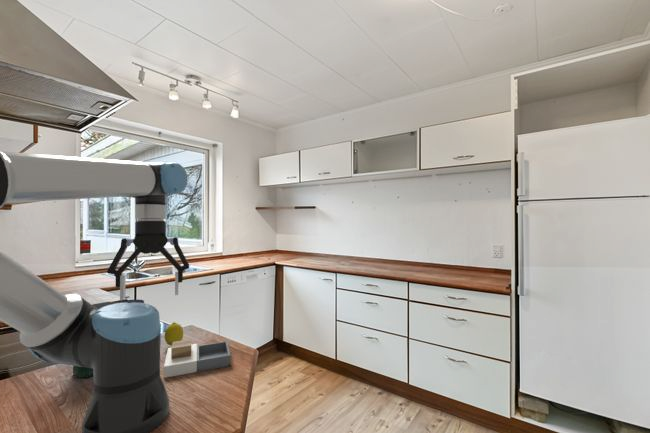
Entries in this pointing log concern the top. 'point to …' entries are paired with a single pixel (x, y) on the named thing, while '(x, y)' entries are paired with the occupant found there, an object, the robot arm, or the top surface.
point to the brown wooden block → (181, 349)
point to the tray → (213, 356)
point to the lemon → (173, 333)
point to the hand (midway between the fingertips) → (150, 296)
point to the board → (181, 363)
